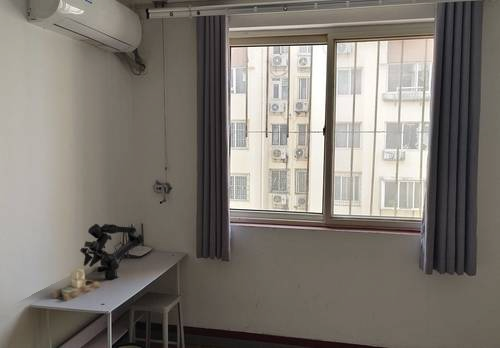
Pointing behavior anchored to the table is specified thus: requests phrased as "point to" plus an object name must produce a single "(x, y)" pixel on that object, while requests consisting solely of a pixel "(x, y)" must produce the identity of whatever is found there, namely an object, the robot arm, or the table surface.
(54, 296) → the trap deck
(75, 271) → the maple block
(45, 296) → the table surface
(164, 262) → the table surface
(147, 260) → the table surface
